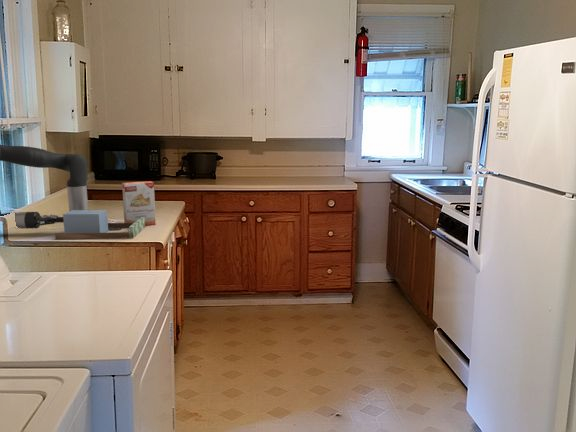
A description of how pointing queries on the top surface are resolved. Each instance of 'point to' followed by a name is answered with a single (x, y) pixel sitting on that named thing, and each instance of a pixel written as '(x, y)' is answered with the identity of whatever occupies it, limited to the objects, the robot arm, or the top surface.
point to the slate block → (85, 221)
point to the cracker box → (139, 202)
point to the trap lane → (133, 231)
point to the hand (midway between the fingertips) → (66, 219)
